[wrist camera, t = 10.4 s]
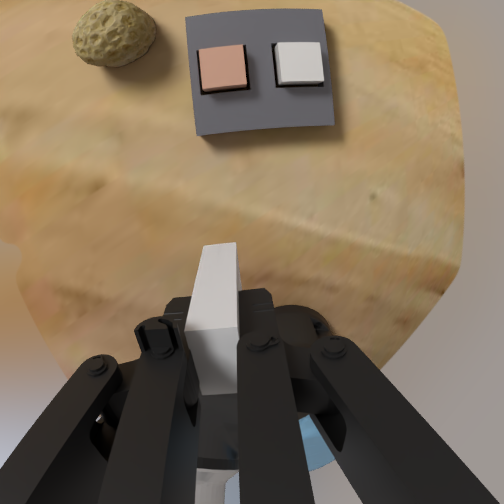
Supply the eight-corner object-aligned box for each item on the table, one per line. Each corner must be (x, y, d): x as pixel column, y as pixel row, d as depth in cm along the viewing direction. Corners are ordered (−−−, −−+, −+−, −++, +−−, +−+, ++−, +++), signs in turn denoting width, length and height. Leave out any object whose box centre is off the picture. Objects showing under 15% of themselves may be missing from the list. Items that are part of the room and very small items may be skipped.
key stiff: (245, 87, 35) (246, 84, 32) (205, 92, 35) (202, 88, 32) (242, 51, 33) (242, 44, 30) (201, 55, 33) (198, 49, 30)
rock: (135, 78, 38) (154, 67, 31) (63, 68, 32) (63, 52, 24) (153, 22, 36) (177, 0, 28) (83, 8, 29) (91, -19, 21)
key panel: (328, 125, 39) (334, 125, 36) (199, 135, 39) (196, 136, 36) (316, 16, 33) (321, 9, 30) (188, 24, 33) (185, 17, 30)
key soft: (316, 84, 36) (324, 80, 32) (277, 85, 35) (281, 81, 32) (312, 48, 34) (319, 42, 30) (274, 49, 34) (277, 42, 30)
